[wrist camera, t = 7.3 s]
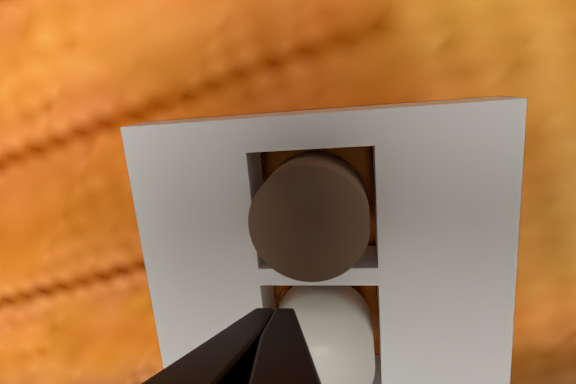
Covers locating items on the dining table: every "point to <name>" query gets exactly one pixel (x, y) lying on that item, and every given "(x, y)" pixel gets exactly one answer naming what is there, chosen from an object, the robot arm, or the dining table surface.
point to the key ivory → (335, 331)
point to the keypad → (376, 259)
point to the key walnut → (311, 217)
